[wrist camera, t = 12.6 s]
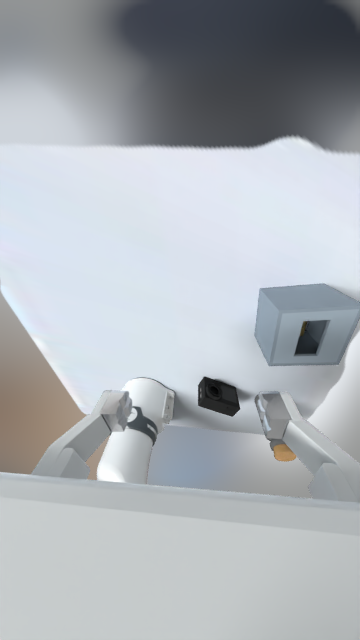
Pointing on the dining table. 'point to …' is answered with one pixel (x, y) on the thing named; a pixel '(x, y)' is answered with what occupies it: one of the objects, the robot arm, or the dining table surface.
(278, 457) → the bottle
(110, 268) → the dining table surface
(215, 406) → the digital camera
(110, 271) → the dining table surface
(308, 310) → the box
